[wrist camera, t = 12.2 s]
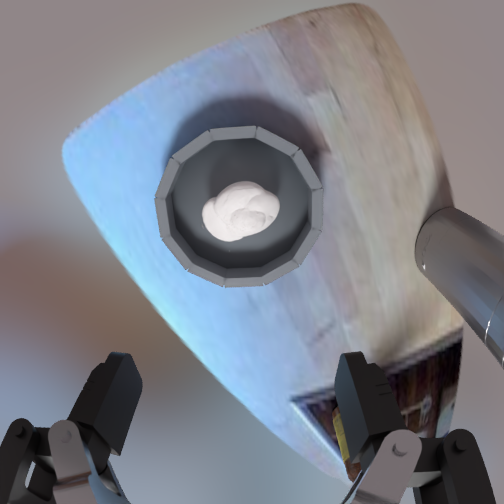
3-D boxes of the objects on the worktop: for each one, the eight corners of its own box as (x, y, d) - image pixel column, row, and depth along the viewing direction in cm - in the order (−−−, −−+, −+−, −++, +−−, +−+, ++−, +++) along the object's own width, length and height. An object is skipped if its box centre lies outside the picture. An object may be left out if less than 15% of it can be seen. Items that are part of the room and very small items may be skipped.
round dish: (315, 125, 23) (322, 125, 21) (314, 269, 29) (319, 282, 27) (157, 136, 24) (147, 137, 21) (177, 275, 30) (170, 288, 27)
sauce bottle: (339, 421, 42) (358, 514, 24) (325, 408, 40) (344, 513, 22) (371, 406, 41) (399, 500, 22) (360, 392, 38) (391, 498, 20)
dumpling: (260, 164, 24) (261, 170, 20) (286, 213, 26) (292, 227, 22) (193, 201, 25) (183, 213, 22) (221, 246, 27) (217, 264, 24)
